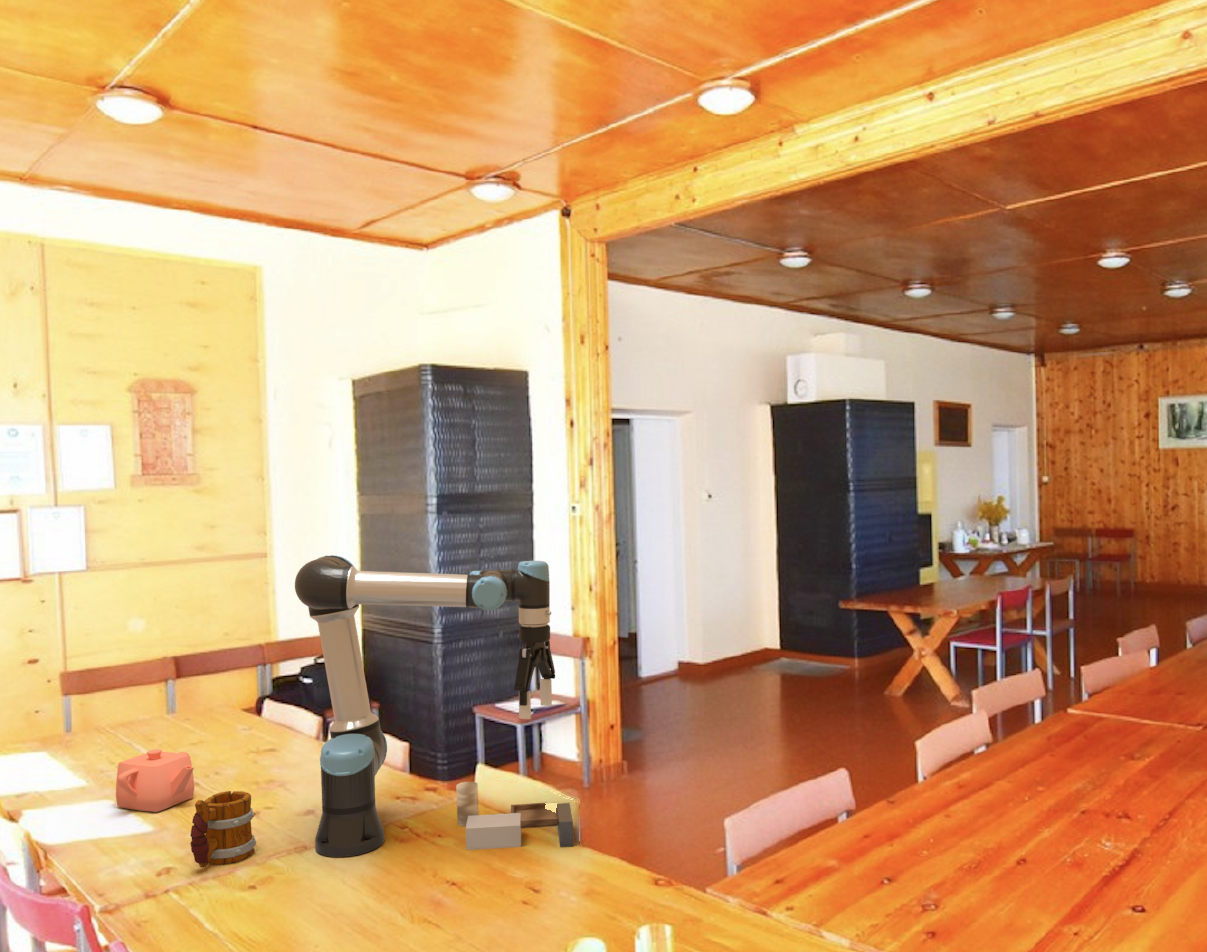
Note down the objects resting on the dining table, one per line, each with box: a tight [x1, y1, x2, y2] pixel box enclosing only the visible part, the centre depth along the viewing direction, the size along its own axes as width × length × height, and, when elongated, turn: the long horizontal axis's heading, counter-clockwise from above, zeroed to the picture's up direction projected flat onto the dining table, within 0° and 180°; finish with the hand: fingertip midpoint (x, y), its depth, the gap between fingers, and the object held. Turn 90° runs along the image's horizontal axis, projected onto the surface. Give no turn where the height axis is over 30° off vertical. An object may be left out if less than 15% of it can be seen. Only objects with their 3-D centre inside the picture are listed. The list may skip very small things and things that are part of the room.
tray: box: [510, 802, 557, 829], centre depth 225 cm, size 12×12×2 cm
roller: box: [455, 781, 479, 828], centre depth 224 cm, size 5×5×9 cm
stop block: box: [557, 802, 575, 848], centre depth 213 cm, size 3×12×6 cm, turn 6°
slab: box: [465, 812, 522, 851], centre depth 211 cm, size 12×8×5 cm, turn 94°
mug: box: [190, 790, 257, 868], centre depth 206 cm, size 11×16×15 cm, turn 161°
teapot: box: [115, 748, 195, 813], centre depth 244 cm, size 20×22×14 cm
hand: (535, 711), depth 229 cm, fingers open, 13 cm apart
